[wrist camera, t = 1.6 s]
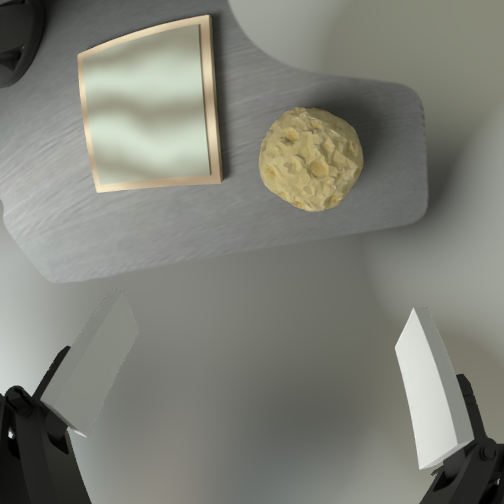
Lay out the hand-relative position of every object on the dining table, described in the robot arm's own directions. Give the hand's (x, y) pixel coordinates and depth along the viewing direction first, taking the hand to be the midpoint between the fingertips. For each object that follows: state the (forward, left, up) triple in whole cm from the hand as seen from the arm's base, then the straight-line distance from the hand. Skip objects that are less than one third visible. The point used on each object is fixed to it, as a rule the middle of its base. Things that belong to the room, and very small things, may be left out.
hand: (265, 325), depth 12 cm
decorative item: (-3, +3, -20) cm, 21 cm away
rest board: (-9, -14, -20) cm, 26 cm away
